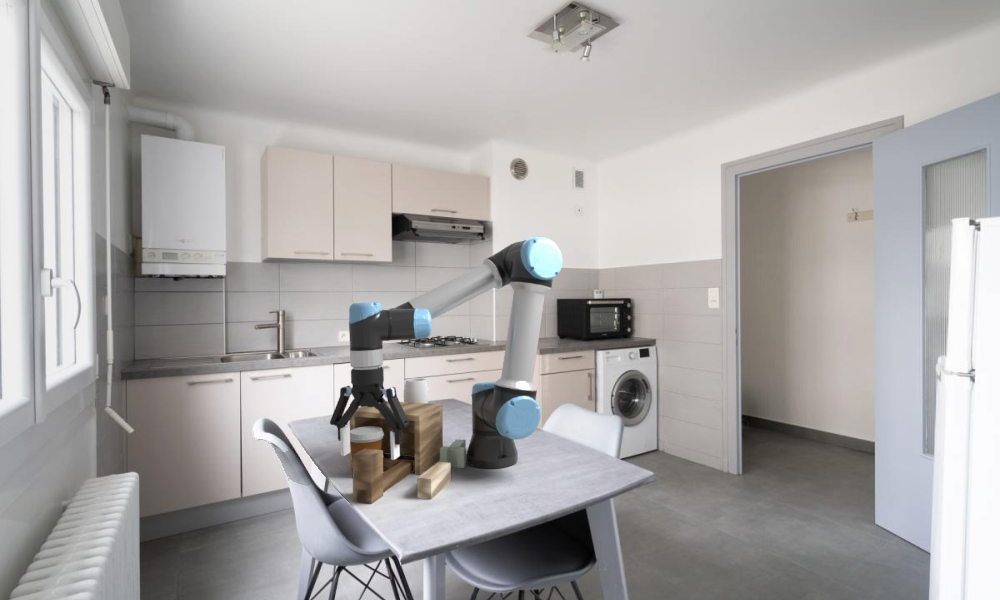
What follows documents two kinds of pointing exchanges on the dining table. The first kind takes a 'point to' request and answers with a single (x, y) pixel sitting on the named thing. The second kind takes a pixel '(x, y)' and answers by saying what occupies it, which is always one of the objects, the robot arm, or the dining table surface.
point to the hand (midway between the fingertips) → (370, 456)
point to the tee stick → (454, 453)
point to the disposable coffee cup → (365, 439)
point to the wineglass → (416, 390)
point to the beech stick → (434, 480)
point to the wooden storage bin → (408, 431)
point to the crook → (376, 474)
